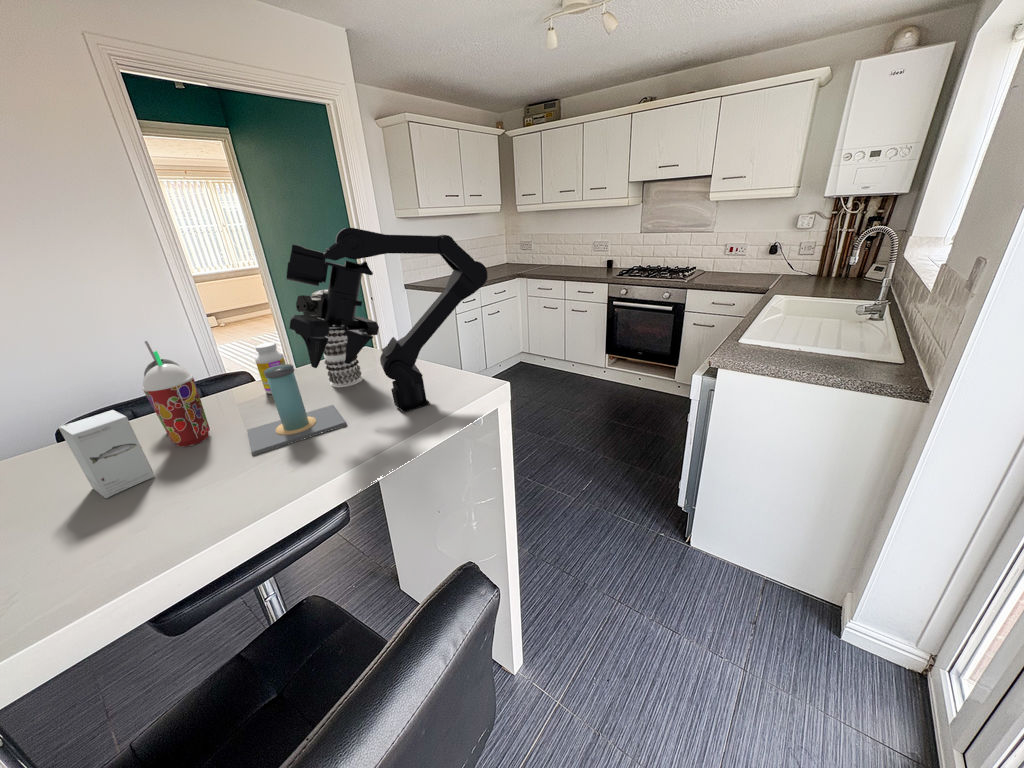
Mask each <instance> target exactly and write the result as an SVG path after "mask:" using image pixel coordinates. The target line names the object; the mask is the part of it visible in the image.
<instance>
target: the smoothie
mask: <svg viewBox="0 0 1024 768" xmlns="http://www.w3.org/2000/svg"><path fill="white" fill-rule="evenodd" d="M153 353H154V355H155V358H156V360H157V362H158V365H157V366H155V367H153V368H151V369H150V370H149V371H148V372H147V373H146V375H145V377H144V376H143V382H142V386H141V390H142V391H143V393H144V395H146V398H147V400H148V402H149V403H150V405H151V407H152V409H153V411H154V412H155V414H156V416H157V417H158V419H159V421H160V424H161V425H162V426H163V429H164V430H165V432H166V434H167V435H168V438H169V439H170V440H171V442H172V443H175V444H176V446H177V447H183V448H184V447H185V448H186V447H190V446H194V445H197V444H200V443H201V442H204V441H205V440H207V439H208V438H209V435H210V434H209V432H210V431H211V429H210V425H209V422H208V419H207V416H206V412H205V409H204V406H203V404H202V400H201V397H200V394H199V391H198V387H197V384H196V381H195V378H194V375H193V374H192V373H190V372H188V370H186V369H185V368H184V367H183V366H181V365H180V366H178V365H179V364H178V365H175V364H163V363H162V361H161V359H162V358H161V357H160V354H159V352H158V350H155V351H154V350H153Z"/></svg>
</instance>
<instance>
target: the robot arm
mask: <svg viewBox="0 0 1024 768" xmlns="http://www.w3.org/2000/svg"><path fill="white" fill-rule="evenodd" d="M386 254H410V255H411V254H416V255H417V254H419V255H421V254H422V255H423V254H424V255H425V254H426V255H427V254H428V255H429V254H430V255H432V254H433V255H439V256H441V258H442V259H443V260H444V262H446V264H447V265H448V266H449V268H450V269H452V272H451V274H450V275H449V277H448V281H447V284H446V286H445V288H444V290H442V292H441V293H440V294H439V296H438V297H437V298H436V299H435V300H434V301H433V303H432V304H431V305H430V306H429V307H428V309H427V310H426V311H425V312H424V314H423V315H421V317H420V318H419V319H418V320H417V321H416V323H415V324H414V325H413V326H412V328H411V329H410V330H409V331H408V332H407V334H405V335H404V336H403V337H402V338H400V339H398V340H397V339H396V337H394V336H392V337H391V338H390V340H389V342H388V344H387V345H386V346H385V347H383V348H382V349H381V350H380V351H381V352H382V353H381V354H380V357H379V362H380V365H381V368H382V370H383V373H384V374H385V376H386V377H387V378H389V379H391V380H392V382H391V383H392V388H391V394H392V398H393V403H394V405H395V407H396V408H398V409H399V410H401V411H402V412H403V413H407V412H409V411H413V410H416V409H418V408H421V407H424V406H427V405H430V400H428V399H427V396H426V390H425V383H424V378H423V374H422V372H421V371H420V369H419V368H418V366H417V365H416V362H417V361H418V357H419V354H420V352H421V350H422V348H423V347H425V344H426V343H427V342H428V341H429V340H430V339H431V338H432V336H433V335H434V334H435V333H436V332H437V331H438V329H439V328H440V327H441V326H442V324H443V323H444V322H445V321H446V320H447V319H448V317H449V316H450V315H451V314H452V312H453V311H455V309H456V308H457V307H458V306H459V304H460V303H461V302H462V301H464V300H465V299H467V298H469V297H471V296H473V295H474V294H475V293H476V292H477V291H479V290H480V289H481V288H482V287H483V286H484V285H485V284H486V283H487V280H488V278H489V277H488V269H487V267H486V266H485V265H484V264H483V263H482V262H480V261H478V260H477V261H476V260H474V258H473V257H472V256H471V255H470V254H469V253H468V252H467V251H466V250H464V249H463V248H462V247H461V246H460V245H459V244H458V243H457V242H456V241H455V240H454V238H453V237H452V236H451V235H447V234H439V235H416V234H414V235H411V234H410V235H408V234H384V233H379V232H375V231H370V230H365V229H361V228H355V227H346V228H345V227H344V228H342V229H341V230H340V231H338V233H336V236H335V242H334V243H333V244H332V245H330V246H329V247H328V248H327V247H325V251H323V252H322V251H319V250H315V249H310V248H307V247H305V246H303V245H299V244H295V243H294V244H292V245H291V252H290V256H289V260H288V262H287V268H286V281H290V282H291V281H292V282H296V283H300V284H305V285H308V286H309V285H310V286H314V287H319V286H320V284H322V283H323V284H325V283H326V282H327V277H328V276H327V275H328V268H329V267H331V269H330V276H329V283H328V289H327V290H328V293H323V294H322V295H321V300H312V299H311V295H305V294H304V295H298V296H297V298H296V303H295V305H296V306H295V307H296V310H297V312H298V313H302V314H294V315H293V316H292V317H291V318H290V320H289V321H290V322H289V328H288V329H290V330H291V331H294V332H295V334H296V335H299V336H301V338H302V339H303V342H304V343H305V346H306V350H307V353H308V357H309V361H310V365H311V367H312V368H314V369H317V368H319V365H320V362H321V360H322V357H323V356H324V350H325V347H326V344H327V342H328V339H329V338H326V337H325V336H326V335H327V334H328V333H329V330H344V331H345V333H346V335H347V338H348V340H347V348H346V359H345V362H346V363H347V364H351V362H352V361H353V360H354V358H355V357H356V356H357V357H358V354H360V352H361V350H362V349H363V348H364V347H365V346H366V345H367V343H369V341H370V340H371V339H372V340H373V338H374V336H378V334H379V328H380V327H379V325H378V323H377V321H374V320H373V319H368V318H365V317H363V316H356V314H357V313H356V312H357V307H362V305H363V301H362V300H359V294H360V289H361V282H362V277H363V274H364V275H368V276H373V274H374V273H373V271H372V270H371V268H370V267H369V265H368V264H369V263H368V262H367V261H365V260H363V262H362V263H358V262H355V261H349V259H350V260H359V259H365V258H366V259H367V258H370V257H376V256H381V255H386ZM344 258H346V259H348V260H345V262H344V264H341V263H337V262H332V261H338V260H341V259H344ZM326 259H327V260H326ZM328 260H331V261H328ZM319 318H320V319H319ZM321 319H324V320H321ZM332 325H335V326H332ZM341 325H344V326H341Z"/></svg>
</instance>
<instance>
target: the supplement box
mask: <svg viewBox="0 0 1024 768" xmlns="http://www.w3.org/2000/svg"><path fill="white" fill-rule="evenodd" d="M58 429H59V431H60V433H61V435H62V438H64V440H65V443H66V444H67V445H68V448H69V449H70V451H71V452H72V454H73V456H74V458H75V460H76V461H77V463H78V465H79V467H80V469H81V470H82V473H84V476H85V478H86V479H87V481H88V483H89V485H90V487H91V488H92V489H93V490H94V491H96V492H97V493H98V494H99V495H101V496H102V497H103V498H105V499H108V498H110V497H112V496H114V495H117V494H119V493H121V492H123V491H125V490H127V489H130V488H131V487H134V486H136V485H139V484H142V482H145V481H147V480H151V479H154V478H155V477H156V474H155V472H154V470H153V468H152V466H151V464H150V462H149V460H148V458H147V456H146V454H145V451H144V450H143V448H142V446H141V444H140V442H139V441H140V440H138V438H137V435H136V433H135V430H134V429H133V427H132V425H131V422H130V421H129V418H128V416H126V415H124V414H122V413H120V412H119V411H116V410H114V409H111V410H108V411H104V412H101V413H99V414H95V415H92V416H90V417H89V416H88V417H85V418H82V419H80V420H79V419H78V420H77V421H74V422H70V423H66V424H63V425H61V426H59V427H58Z"/></svg>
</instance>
